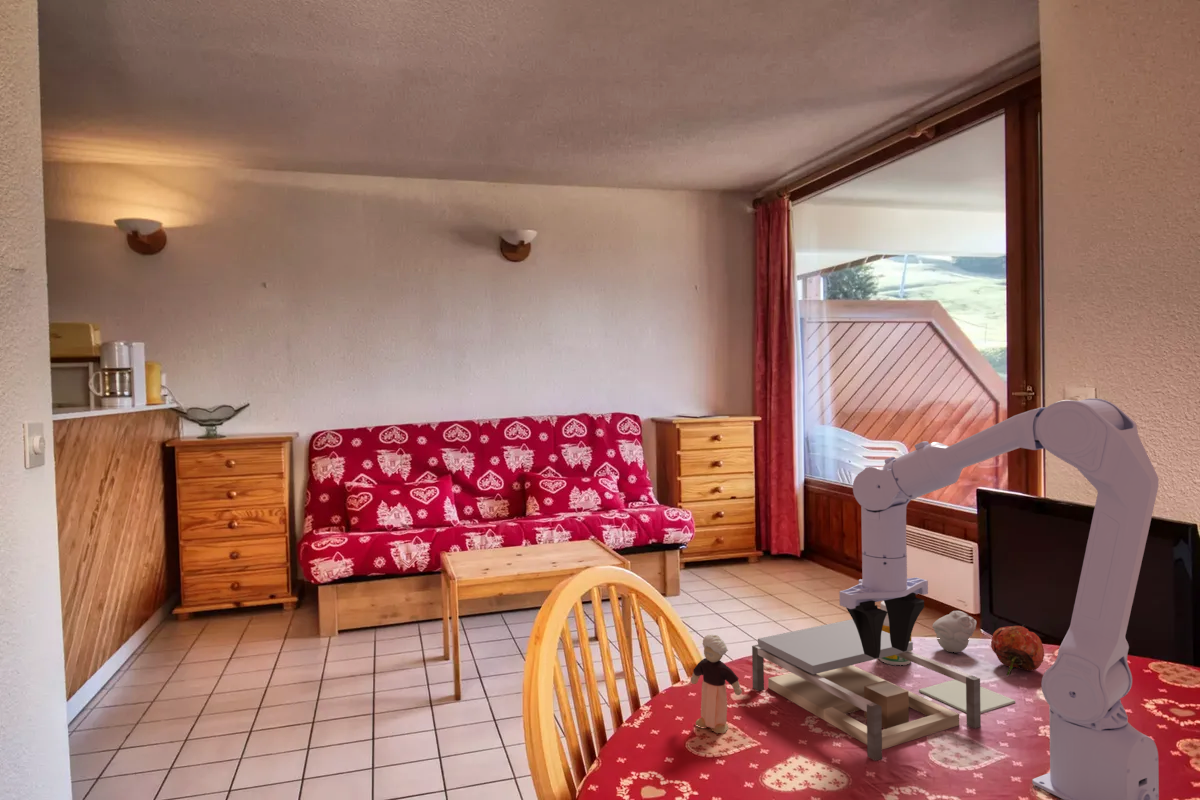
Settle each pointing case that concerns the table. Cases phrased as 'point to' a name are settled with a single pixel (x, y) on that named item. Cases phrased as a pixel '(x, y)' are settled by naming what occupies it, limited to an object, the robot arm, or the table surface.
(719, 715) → the grandmother figurine
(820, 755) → the table surface
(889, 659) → the supplement bottle
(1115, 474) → the robot arm
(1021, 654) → the red rounded fruit
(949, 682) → the rubber mat
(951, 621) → the frog figurine
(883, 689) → the walnut block
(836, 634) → the sliding cover
